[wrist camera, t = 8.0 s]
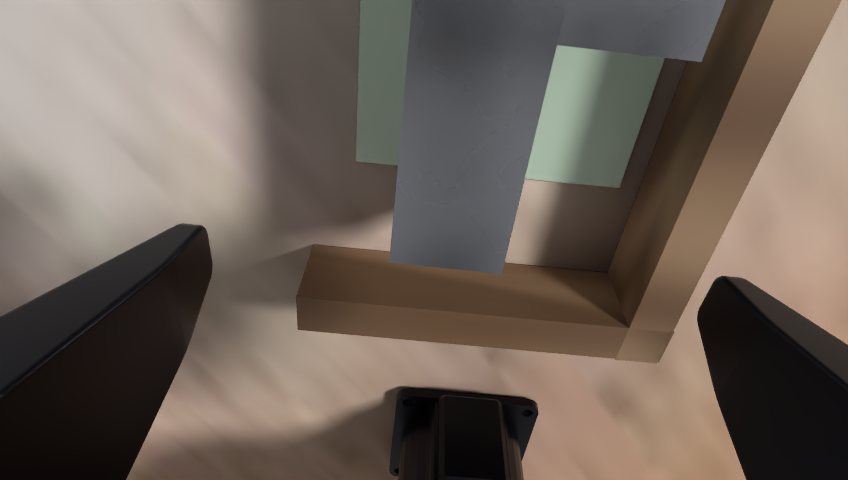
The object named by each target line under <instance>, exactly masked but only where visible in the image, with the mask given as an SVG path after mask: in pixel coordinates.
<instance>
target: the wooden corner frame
mask: <svg viewBox="0 0 848 480" xmlns="http://www.w3.org/2000/svg"><path fill="white" fill-rule="evenodd" d="M840 2H841V0H726V1H725V4H724V6H723V9H722V11H721V14H720V16H719V19H718V21H717V24H716V26H715V29H714V31H713V34H712V36H711V39H710V41H709V44H708V46H707V49H706V51H705V54H704V56H703V59H702V61H701V62H696V61H687V64H686V66H685V69H684V72H683V74H682V77H681V80H680V82H679V85H678V87H677V90H676V93H675V95H674V98H673V101H672V103H671V106H670V109H669V111H668V114H667V117H666V119H665V122H664V124H663V127H662V130H661V132H660V135H659V138H658V140H657V143H656V146H655V148H654V151H653V154H652V156H651V159H650V162H649V164H648V167H647V169H646V172H645V175H644V177H643V180H642V183H641V185H640V188H639V191H638V193H637V196H636V199H635V201H634V204H633V207H632V209H631V212H630V214H629V217H628V220H627V222H626V225H625V228H624V230H623V233H622V236H621V238H620V241H619V244H618V246H617V249H616V251H615V254H614V257H613V259H612V262H611V265H610V267H609V270H608V273H604V272H594V271H583V270H573V269H563V268H552V267H542V266H532V265H521V264H511V263H504V266H503V270H502V274H497V273H487V272H477V271H467V270H458V269H448V268H438V267H428V266H418V265H408V264H398V263H389V261H390V252H386V251H376V250H365V249H355V248H345V247H334V246H324V245H313V248H312V251H311V254H310V257H309V260H308V263H307V266H306V269H305V272H304V275H303V278H302V282H301V285H300V288H299V291H298V294H297V297H296V303H297V323H298V330H306V331H317V332H328V333H339V334H350V335H361V336H372V337H383V338H394V339H405V340H416V341H427V342H438V343H449V344H460V345H471V346H482V347H493V348H504V349H515V350H526V351H537V352H548V353H559V354H570V355H581V356H592V357H603V358H614V359H615V360H625V361H636V362H647V363H657V362H658V363H659V361H660V359H661V357H662V355H663V353H664V351H665V349H666V347H667V345H668V343H669V341H670V339H671V337H672V335H673V334H674V329H675V327H676V325H677V323H678V321H679V319H680V317H681V315H682V313H683V311H684V309H685V307H686V305H687V303H688V301H689V299H690V297H691V295H692V293H693V291H694V289H695V287H696V285H697V283H698V281H699V279H700V277H701V276H702V274H703V272H704V270H705V268H706V266H707V264H708V262H709V260H710V258H711V256H712V254H713V252H714V250H715V248H716V246H717V244H718V242H719V240H720V238H721V236H722V234H723V232H724V230H725V228H726V226H727V224H728V222H729V220H730V218H731V216H732V215H733V213H734V211H735V209H736V207H737V205H738V203H739V201H740V199H741V197H742V195H743V193H744V191H745V189H746V187H747V185H748V183H749V181H750V179H751V177H752V175H753V173H754V171H755V169H756V167H757V165H758V163H759V161H760V159H761V157H762V156H763V154H764V152H765V150H766V148H767V146H768V144H769V142H770V140H771V138H772V136H773V134H774V132H775V130H776V128H777V126H778V124H779V122H780V120H781V118H782V116H783V114H784V112H785V110H786V108H787V106H788V104H789V102H790V100H791V98H792V97H793V95H794V93H795V91H796V89H797V87H798V85H799V83H800V81H801V79H802V77H803V75H804V73H805V71H806V69H807V67H808V65H809V63H810V61H811V59H812V57H813V55H814V53H815V51H816V49H817V47H818V45H819V43H820V41H821V39H822V38H823V36H824V34H825V32H826V30H827V28H828V26H829V24H830V22H831V20H832V18H833V16H834V14H835V12H836V10H837V8H838V6H839V4H840Z"/></svg>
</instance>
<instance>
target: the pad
mask: <svg viewBox="0 0 848 480" xmlns="http://www.w3.org/2000/svg"><path fill="white" fill-rule="evenodd" d="M411 9H412V0H360V27H359V62H358V96H357V130H356V162H366V163H376V164H386V165H395V166H398V158H399V146H400V135H401V123H402V112H403V100H404V89H405V77H406V66H407V55H408V43H409V32H410V20H411ZM664 60H665V58H662V57H654V56H645V55H637V54H628V53H620V52H611V51H603V50H594V49H586V48H577V47H569V46H560V45H557V47H556V51H555V56H554V60H553V64H552V68H551V72H550V76H549V80H548V84H547V89H546V93H545V97H544V101H543V105H542V109H541V113H540V117H539V122H538V126H537V130H536V134H535V138H534V142H533V146H532V150H531V155H530V159H529V163H528V167H527V171H526V175H525V179H533V180H543V181H553V182H562V183H572V184H582V185H592V186H602V187H612V188H619V187H620V184H621V182H622V179H623V176H624V173H625V170H626V167H627V165H628V162H629V159H630V156H631V153H632V150H633V148H634V145H635V142H636V139H637V136H638V133H639V131H640V128H641V125H642V122H643V119H644V116H645V114H646V111H647V108H648V105H649V102H650V99H651V97H652V94H653V91H654V88H655V85H656V82H657V80H658V77H659V74H660V71H661V68H662V65H663V63H664Z"/></svg>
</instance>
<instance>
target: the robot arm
mask: <svg viewBox="0 0 848 480" xmlns="http://www.w3.org/2000/svg"><path fill="white" fill-rule="evenodd" d="M211 275H212V258H211V252H210V245H209V239H208V234H207V231H206V229H205V228H204V227H203V226H202V225H193V224H178V225H176V226H174V227H172V228H170V229H168V230H166V231H164V232H162V233H160V234H158V235H157V236H155V237H153V238H151V239H149V240H147V241H145V242H143V243H141V244H139V245H137V246H135V247H134V248H132V249H130V250H128V251H126V252H124V253H122V254H120V255H118V256H116V257H114V258H112V259H110V260H109V261H107V262H105V263H103V264H101V265H99V266H97V267H95V268H93V269H91V270H89V271H87V272H86V273H84V274H82V275H80V276H78V277H76V278H74V279H72V280H70V281H68V282H66V283H64V284H62V285H61V286H59V287H57V288H55V289H53V290H51V291H49V292H47V293H45V294H43V295H41V296H39V297H37V298H36V299H34V300H32V301H30V302H28V303H26V304H24V305H22V306H20V307H18V308H16V309H14V310H12V311H10V312H9V313H7V314H5V315H3V316H1V317H0V480H126V479H127V477H128V475H129V472H130V470H131V468H132V466H133V464H134V462H135V460H136V458H137V455H138V453H139V451H140V449H141V447H142V445H143V443H144V441H145V439H146V436H147V434H148V432H149V430H150V428H151V426H152V424H153V422H154V419H155V417H156V415H157V413H158V411H159V409H160V407H161V405H162V402H163V400H164V398H165V396H166V394H167V392H168V390H169V388H170V385H171V383H172V381H173V379H174V377H175V375H176V373H177V371H178V368H179V366H180V364H181V362H182V360H183V357H184V355H185V353H186V351H187V348H188V345H189V342H190V340H191V337H192V334H193V331H194V328H195V324H196V321H197V318H198V315H199V312H200V309H201V306H202V303H203V300H204V297H205V294H206V291H207V288H208V285H209V282H210V279H211ZM697 321H698V326H699V331H700V335H701V339H702V343H703V347H704V351H705V355H706V359H707V363H708V367H709V371H710V375H711V379H712V383H713V387H714V391H715V394H716V398H717V401H718V404H719V407H720V410H721V412H722V415H723V418H724V420H725V423H726V426H727V429H728V431H729V434H730V437H731V439H732V442H733V445H734V448H735V450H736V453H737V456H738V458H739V461H740V464H741V467H742V469H743V472H744V475H745V477H746V480H848V345H847V344H846V343H844V342H842V341H841V340H839V339H838V338H836V337H835V336H833V335H832V334H830V333H828V332H827V331H825V330H824V329H822V328H821V327H819V326H818V325H816V324H814V323H813V322H811V321H810V320H808V319H807V318H805V317H804V316H802V315H800V314H799V313H797V312H796V311H794V310H793V309H791V308H789V307H788V306H786V305H785V304H783V303H782V302H780V301H779V300H777V299H775V298H774V297H772V296H771V295H769V294H768V293H766V292H765V291H763V290H761V289H760V288H758V287H757V286H755V285H754V284H752V283H751V282H749V281H747V280H746V279H743V278H739V277H728V276H721V277H718V278H717V279H716V280H715V281H714V282H713V284H712V286H711V287H710V289H709V291H708V293H707V295H706V297H705V299H704V301H703V302H702V304H701V306H700V308H699V311H698V316H697ZM537 416H538V407H537V403H536V402H535V401H533V400H530V399H522V398H511V397H499V396H488V395H476V394H465V393H454V392H442V391H431V390H420V389H403V390H401V391H399V393H398V395H397V405H396V414H395V423H394V432H393V441H392V450H391V459H390V473H391V474H392V475H394V476H398V480H524V478H523V470H522V463H521V462H522V459H523V456H524V453H525V450H526V447H527V444H528V442H529V439H530V436H531V433H532V430H533V427H534V424H535V422H536V419H537Z"/></svg>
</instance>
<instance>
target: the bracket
mask: <svg viewBox="0 0 848 480" xmlns="http://www.w3.org/2000/svg"><path fill="white" fill-rule="evenodd" d="M725 1H726V0H412V9H411V20H410V32H409V43H408V55H407V66H406V77H405V89H404V100H403V112H402V123H401V135H400V146H399V158H398V169H397V180H396V192H395V203H394V215H393V226H392V238H391V249H390V261H389V263H398V264H408V265H418V266H428V267H438V268H448V269H458V270H467V271H477V272H487V273H497V274H502V270H503V266H504V262H505V258H506V254H507V249H508V245H509V241H510V237H511V233H512V229H513V225H514V221H515V216H516V212H517V208H518V204H519V200H520V196H521V192H522V188H523V183H524V179H525V175H526V171H527V167H528V163H529V159H530V155H531V150H532V146H533V142H534V138H535V134H536V130H537V126H538V122H539V117H540V113H541V109H542V105H543V101H544V97H545V93H546V89H547V84H548V80H549V76H550V72H551V68H552V64H553V60H554V56H555V51H556V47H557V45H560V46H569V47H577V48H586V49H594V50H603V51H611V52H620V53H628V54H637V55H645V56H654V57H662V58H671V59H679V60H688V61H696V62H701V61H702V59H703V56H704V54H705V51H706V49H707V46H708V44H709V41H710V39H711V36H712V34H713V31H714V29H715V26H716V24H717V21H718V19H719V16H720V14H721V11H722V9H723V6H724V4H725Z"/></svg>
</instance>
